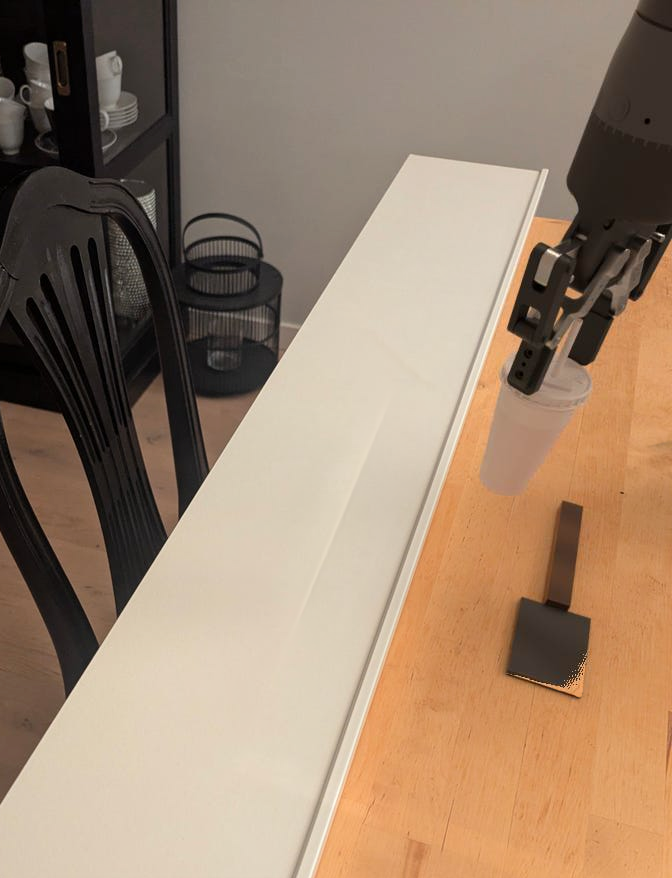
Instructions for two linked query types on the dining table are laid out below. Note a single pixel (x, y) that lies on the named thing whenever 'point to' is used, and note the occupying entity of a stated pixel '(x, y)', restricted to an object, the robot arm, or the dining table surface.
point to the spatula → (553, 614)
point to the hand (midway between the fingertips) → (549, 373)
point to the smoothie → (532, 421)
